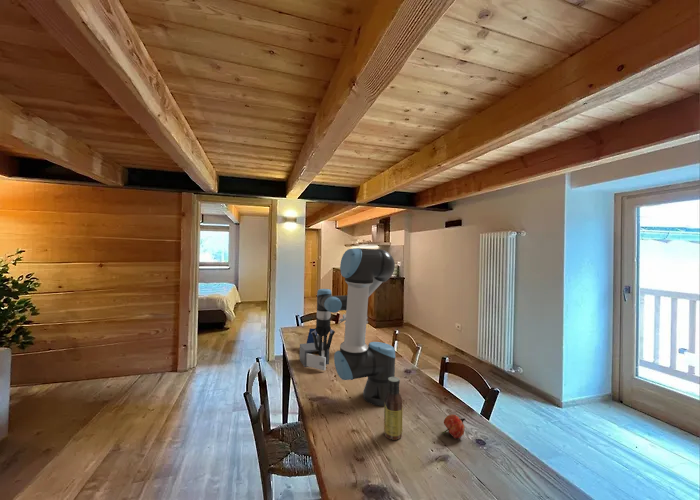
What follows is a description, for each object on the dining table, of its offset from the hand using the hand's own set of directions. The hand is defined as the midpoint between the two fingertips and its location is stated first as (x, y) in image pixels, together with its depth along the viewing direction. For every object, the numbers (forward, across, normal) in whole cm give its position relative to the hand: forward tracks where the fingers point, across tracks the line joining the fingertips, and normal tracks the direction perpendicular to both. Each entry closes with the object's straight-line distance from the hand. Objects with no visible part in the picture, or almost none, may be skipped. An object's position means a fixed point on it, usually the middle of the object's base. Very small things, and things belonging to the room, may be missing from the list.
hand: (322, 362), depth 163 cm
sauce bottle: (+3, -6, +64) cm, 65 cm away
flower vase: (+4, -25, -18) cm, 31 cm away
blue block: (+5, -4, -33) cm, 33 cm away
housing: (+4, +1, -12) cm, 12 cm away
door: (+3, +4, 0) cm, 5 cm away
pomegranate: (+3, -26, +71) cm, 76 cm away
